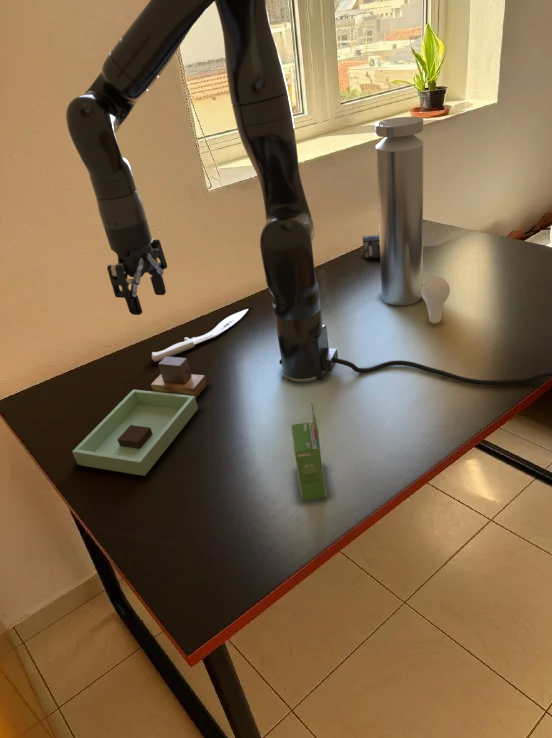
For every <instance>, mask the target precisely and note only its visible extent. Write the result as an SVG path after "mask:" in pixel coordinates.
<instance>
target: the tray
mask: <svg viewBox="0 0 552 738" xmlns="http://www.w3.org/2000/svg"><path fill="white" fill-rule="evenodd" d="M198 409H199V406H198V403H197V398H195V396H190V395H180V394H171V393H162V392H155V391H154V390H142V389H132V390H131V391H130V392H129V393H128V394H127V395H126V396H125V397H124V398H123V399H122V400H121V401H120V402H119V403H118V404H117V405H116V406H115V407H114V408H113V409H112V410H111V412H110V413H108V414H107V416H106V417H104V418H103V419H102V421H101V422H99V424H98V425H97V426H96V427H95V428H94V429H93V430H92V431H91V432H89V434H88V435H87V436H86V437H85V438H84V439H83V440H82V441H81V442H80V443H79V444H78V445H76V447H75V448H74V449H72V451H71V453H72V455H73V457H74V460H75V462H76V464H77V465H78V466H84V467H88V468H89V467H90V468H95V469H100V470H106V471H113V472H118V473H126V474H131V475H137V476H143V477H145V476H146V475H148V473H149V471H150V470H151V469H152V468H153V466H154V465H155V464H156V463H157V461H158V460H159V459H160V458H161V456H162V455H163V454H164V452H165V451H166V450H167V449H168V447H169V446H170V445H171V444H172V443H173V441H174V440H175V439H176V437H177V436H178V435H179V434H180V432H182V430H183V429H184V427H185V426H186V425H187V423H188V422H189V421H190V420H191V418H192V417H193V416H194V415H195V414H196V412H197V411H198ZM130 425H134V426H142V427H149V428H151V431H152V435H151V437H150V438H149V439H148V440H147V441H146V443H145V444H144V445H143V446H142V447H141V448H140V449H136V448H129V447H123V446H120V445H119V442H118V440H117V439H118V438H119V437H120V436H121V435H122V434H123V433H124V432H125V431H126V429H127V428H128V427H129V426H130Z"/></svg>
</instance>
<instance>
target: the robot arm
mask: <svg viewBox="0 0 552 738" xmlns="http://www.w3.org/2000/svg"><path fill="white" fill-rule="evenodd" d="M213 3H215V6H216V10H217V14H218V17H219V21H220V25H221V30H222V37H223V45H224V59H225V69H226V78H227V85H228V91H229V97H230V103H231V106H232V111H233V116H234V119H235V123H236V128H237V132H238V135H239V138H240V141H241V143H242V147H243V148H244V150H245V153H246V155H247V158H248V159H249V161H250V163H251V165H252V167H253V169H254V171H255V174H256V175H257V179H258V181H259V183H260V184H259V185H260V188H261V189H260V190H261V193H262V199H263V207H264V212H265V224H264V225H263V228H262V230H261V232H260V236H259V249H260V256H261V261H262V266H263V273H264V276H265V282H266V287H267V289H268V290H269V292H270V297H271V303H272V311H273V316H274V322H275V327H276V335H277V340H278V347H279V348H278V349H279V353H280V354H279V355H280V360H279V361H278V362H279V366H281V367H282V374H283V377H284V378H285V379H286V380H287V381H289V382H292V383H296V384H306V383H312V382H315V381H323V380H324V378H325V377H326V375H327V373H329V372H330V373H331V372H333V370H334V368H335V366H336V365H337V364H339V365H343V366H346V367H348V368H350V369H352V371H354V372H356V373H358V374H367V373H372V372H376V371H379V370H382V369H385V368H388V367H392V366H403V367H404V366H406V367H410V368H415V369H419V370H421V371H425V372H427V373H431V374H434V375H439V376H442V377H445V378H448V379H450V380H451V379H452V380H453V381H454V380H455V381H456V382H457V381H458V382H461V383H465V384H471V385H477V386H478V385H479V386H505V385H506V386H507V385H517V384H525V383H530V382H533V381H536V380H539V379H543V378H546V377H552V370H547V371H543V372H539V373H536V374H533V375H530V376H526V377H519V378H518V377H517V378H507V379H476V378H469V377H464V376H461V375H457V374H455V373H452V372H448V371H445V370H441V369H437V368H434V367H430V366H427V365H423V364H421V363H417V362H414V361H408V360H398V359H397V360H390V361H385V362H382V363H379V364H377V365H373V366H371V367H358V366H357V365H356V364H354V362H351V361H348V360H345V359H342V358H339V355H338V354H339V353H338V348H336V347H330V346H329V338H328V329H327V325H325V324H323V323H324V322H323V313H322V305H321V304H322V303H321V296H320V286H319V285H320V284H319V280H318V278H317V276H316V270H315V261H314V252H313V243H314V239H315V225H314V221H313V218H312V214H311V211H310V207H309V204H308V201H307V197H306V194H305V190H304V186H303V183H302V178H301V173H300V166H299V157H298V156H299V155H298V147H297V139H296V133H295V124H294V117H293V111H292V106H291V101H290V95H289V92H288V91H289V90H288V86H287V82H286V76H285V73H284V70H283V65H282V60H281V57H280V54H279V51H278V48H277V44H276V42H275V38H274V34H273V32H272V27H271V23H270V19H269V16H268V15H269V14H268V9H267V3H266V0H149V2H148V3H147V4H146V5H145V6H144V8H143V9H142V11H140V13H139V14H138V16H137V17H136V18H135V19H134V21H133V22H132V23H131V24H130V26H129V27H128V28H127V30H126V31H125V32H124V34H123V35H121V38H120V39H119V40H118V41H117V43H116V44H115V45H114V47H113V48H112V49H111V51H110V52H109V54H108V55H107V57H106V58H105V60H104V62H103V64H102V66H101V71H100V73H99V74H98V76H97V77H96V78H95V79H94V81H93V82H92V84H91V85H90V86H89V87H88V88H87V90H86V91H84V93H83V94H81V95H77V96H76V97H74V98H73V99H72V100H70V102H69V104H68V106H67V107H66V114H65V121H66V125H67V130H68V133H69V137H70V139H71V141H72V143H73V145H74V147H75V149H76V151H77V154H78V155H79V158H80V159H81V162H82V163H83V165H84V167H85V169H86V170H87V172H88V176H89V180H90V183H91V186H92V189H93V192H94V195H95V198H96V204H97V209H98V213H99V216H100V219H101V223H102V226H103V229H104V232H105V236H106V239H107V242H108V244H109V248H110V250H111V251H113V252H114V253H115V254H116V256H117V263H115V264H107V267H106V269H107V272H108V277H109V280H110V284H111V286H112V290H113V294H114V296H115V298H119V299H120V298H122V299H124V300H125V302H126V306H127V309H128V311H129V313H130V314H131V315H134V316H140V315H142V314H143V311H144V310H143V308H142V305H141V302H140V298H139V295H137V293H138V286H139V285H140V284H141V278H142V277H143V276H144V275H145V274H146V273H148V275H150V277H149V279H150V281H151V285H152V288H153V292H154V294H155V295H156V296H164V295H166V293H167V291H166V285H165V282H164V277H163V275H164V270H166V269H167V268H168V263H167V260H166V256H165V253H164V251H163V250H164V249H163V247H162V243H161V241H160V239H156V238H153V237H152V233H151V230H150V226H149V223H148V218H147V215H146V211H145V208H144V207H145V206H144V204H143V201H142V199H141V197H140V194H139V192H138V191H139V190H138V188H137V185H136V181H135V177H134V173H133V170H132V167H131V164H130V162H129V160H128V159H127V158H126V157H125V156H123V155H122V152H121V149H120V146H119V143H118V139H117V137H116V133H117V132H118V130H119V129H120V128H121V127H122V125H123V124H124V123H125V121H126V119H128V117H129V115H130V113H131V112H132V110H133V109H134V107H135V106H136V105H137V102H138V101H139V100H141V99H142V98H143V96H144V95H145V94H147V92H148V91H149V90H150V88H152V86H153V85H154V83H155V82H156V81H157V79H158V78H159V77H160V76H161V74H162V73H164V71H165V69H167V67H168V65H169V64H170V63H171V61H172V60H173V58H174V56H175V55H176V54H177V52H178V49H179V48H180V47H181V46H182V44H183V42H184V41H185V39H186V37H187V36H188V34H189V32H190V31H191V29H192V28H193V27H194V25H195V24H196V23H197V22H198V20H199V19H200V18H201V16H202V15H203V14H204V13H205V12H206V11H207V10H208V9H209V7H210V6H212V4H213ZM158 259H159V261H158ZM128 276H129V278H128ZM129 286H130V288H129ZM120 287H121V289H120Z"/></svg>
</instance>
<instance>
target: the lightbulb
mask: <svg viewBox="0 0 552 738" xmlns="http://www.w3.org/2000/svg"><path fill="white" fill-rule="evenodd" d="M450 293H451V289H450V285H449V283H448V281H447V280H446V279H445V278H443V277H440V276H431V277H429V278H427V279H426V280H425V281H423V285H422V288H421V294H422V299H423V301H424V302H425V305H426V307H427V313H428V321H429V322H430V323H431V324H434V325H437V324H439V323H440V322H441V320H442V314H443V308H444V305H445V302H447V299H448V298H449V296H450Z"/></svg>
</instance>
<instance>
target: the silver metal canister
mask: <svg viewBox="0 0 552 738" xmlns="http://www.w3.org/2000/svg"><path fill="white" fill-rule="evenodd" d="M374 126H375V127H374V129H375V136H376V137H379V138H383V139H381V141H379V143H377V144H376V145H375V158H376V159H375V160H376V185H377V209H378V211H377V213H378V214H377V215H378V235H379V240H380V257H379V261H380V263H379V264H380V284H381V285H380V290H381V300H382V301H383V302H384V303H386V304H387V305H392V306H399V307H401V306H410V305H413V304H416V303H418V302H420V301H421V300H422V299H423V297H422V294H421V288H422V285H423V284H424V280H423V279H424V278H423V277H424V276H423V275H424V274H423V270H424V268H423V265H424V263H423V262H424V144H425V143H424V142H425V141H424V140H422V139H420V138H419V137H418V136H416V135H417V134H420V133H421V132H423V131H424V118H423V117H419V116H401V117H400V116H399V117H398V116H397V117H392V118H391V117H390V118H385V119H382V120H380V121H377V122H376V123H374Z"/></svg>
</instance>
